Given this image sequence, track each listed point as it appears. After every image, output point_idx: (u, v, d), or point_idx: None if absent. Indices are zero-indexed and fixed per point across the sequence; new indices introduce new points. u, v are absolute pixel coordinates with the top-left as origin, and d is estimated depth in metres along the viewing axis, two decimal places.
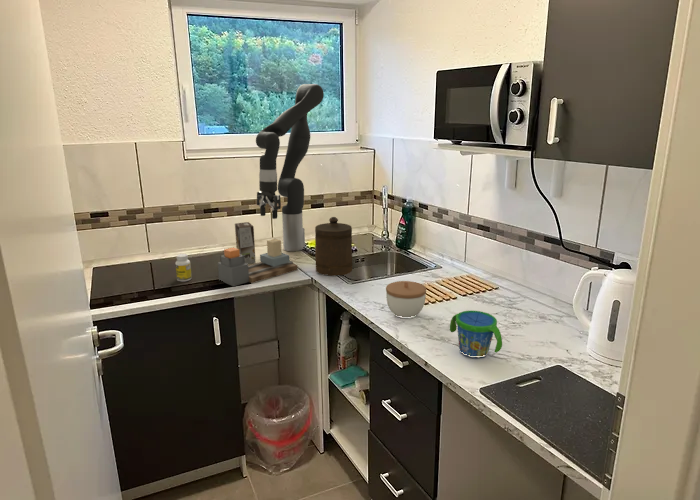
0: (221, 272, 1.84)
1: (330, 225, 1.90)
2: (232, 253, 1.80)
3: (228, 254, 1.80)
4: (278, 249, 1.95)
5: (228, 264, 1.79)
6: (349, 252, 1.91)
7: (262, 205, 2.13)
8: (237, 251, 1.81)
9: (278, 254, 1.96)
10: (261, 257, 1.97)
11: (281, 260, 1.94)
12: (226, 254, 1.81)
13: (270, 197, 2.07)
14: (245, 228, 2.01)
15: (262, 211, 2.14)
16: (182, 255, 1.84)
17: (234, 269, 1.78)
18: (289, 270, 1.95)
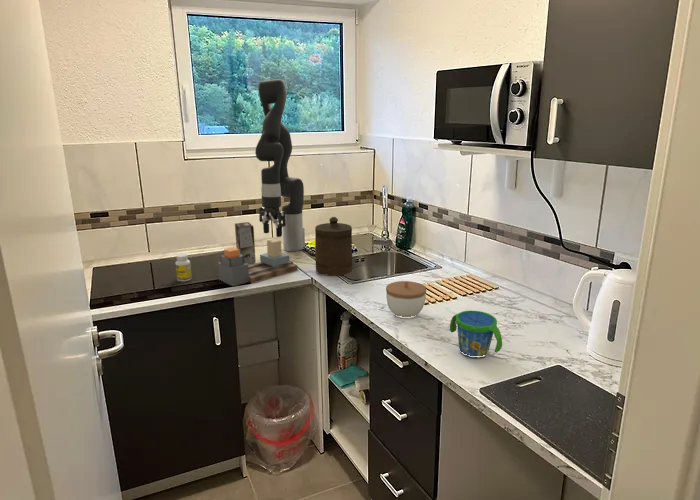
0: (221, 272, 1.84)
1: (330, 225, 1.90)
2: (232, 253, 1.80)
3: (228, 254, 1.80)
4: (278, 249, 1.95)
5: (228, 264, 1.79)
6: (349, 252, 1.91)
7: (265, 222, 1.96)
8: (237, 251, 1.81)
9: (278, 254, 1.96)
10: (261, 257, 1.97)
11: (281, 260, 1.94)
12: (226, 254, 1.81)
13: (274, 213, 1.89)
14: (245, 228, 2.01)
15: (265, 228, 1.96)
16: (182, 255, 1.84)
17: (234, 269, 1.78)
18: (289, 270, 1.95)
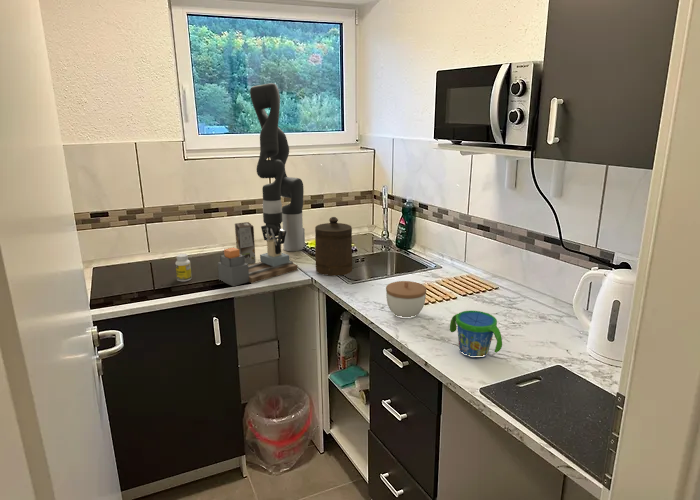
0: (221, 272, 1.84)
1: (330, 225, 1.90)
2: (232, 253, 1.80)
3: (228, 254, 1.80)
4: None
5: (228, 264, 1.79)
6: (349, 252, 1.91)
7: None
8: (237, 251, 1.81)
9: (278, 254, 1.96)
10: (261, 257, 1.97)
11: (281, 260, 1.94)
12: (226, 254, 1.81)
13: (275, 231, 1.91)
14: (245, 228, 2.01)
15: None
16: (182, 255, 1.84)
17: (234, 269, 1.78)
18: (289, 270, 1.95)
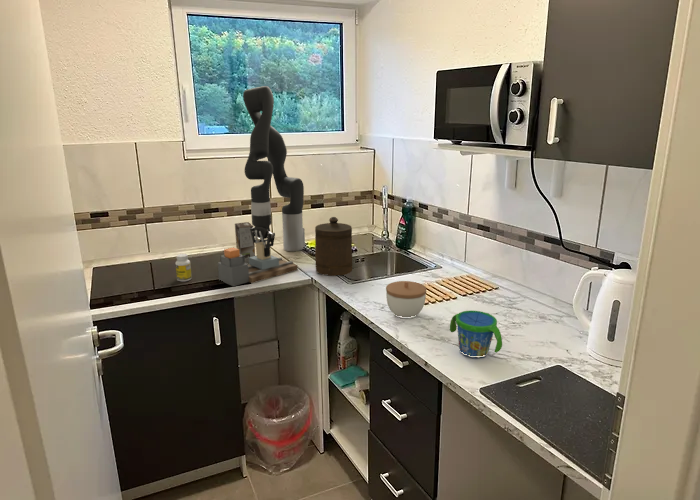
0: (221, 272, 1.84)
1: (330, 225, 1.90)
2: (232, 253, 1.80)
3: (228, 254, 1.80)
4: None
5: (228, 264, 1.79)
6: (349, 252, 1.91)
7: None
8: (237, 251, 1.81)
9: (267, 257, 1.92)
10: (250, 260, 1.93)
11: (270, 262, 1.90)
12: (226, 254, 1.81)
13: (264, 234, 1.87)
14: (245, 228, 2.01)
15: None
16: (182, 255, 1.84)
17: (234, 269, 1.78)
18: (289, 270, 1.95)
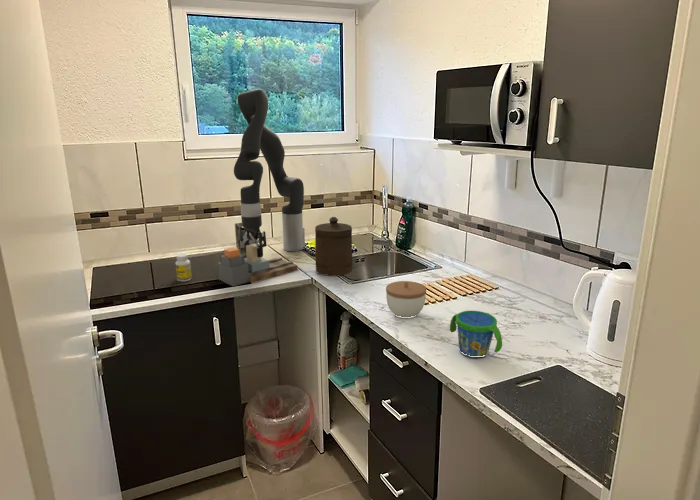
0: (221, 272, 1.84)
1: (330, 225, 1.90)
2: (232, 253, 1.80)
3: (228, 254, 1.80)
4: None
5: (228, 264, 1.79)
6: (349, 252, 1.91)
7: (246, 241, 1.91)
8: (237, 251, 1.81)
9: (257, 259, 1.89)
10: None
11: (260, 265, 1.87)
12: (226, 254, 1.81)
13: (254, 234, 1.84)
14: None
15: None
16: (182, 255, 1.84)
17: (234, 269, 1.78)
18: (289, 270, 1.95)
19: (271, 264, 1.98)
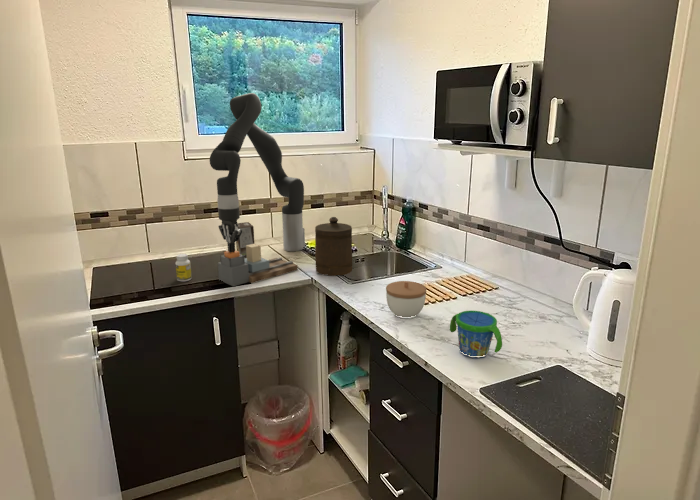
0: (221, 272, 1.84)
1: (330, 225, 1.90)
2: (233, 256, 1.80)
3: (228, 256, 1.80)
4: (257, 254, 1.88)
5: (228, 264, 1.79)
6: (349, 252, 1.91)
7: None
8: (237, 253, 1.82)
9: (257, 259, 1.89)
10: None
11: (260, 265, 1.87)
12: None
13: (231, 229, 1.77)
14: (245, 228, 2.01)
15: None
16: (182, 255, 1.84)
17: (234, 269, 1.78)
18: (289, 270, 1.95)
19: (271, 264, 1.98)
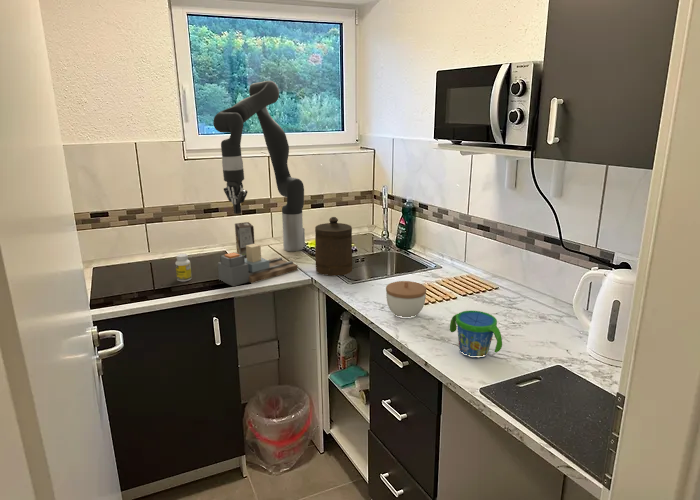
0: (221, 272, 1.84)
1: (330, 225, 1.90)
2: None
3: None
4: (257, 254, 1.88)
5: (228, 264, 1.79)
6: (349, 252, 1.91)
7: None
8: (237, 256, 1.82)
9: (257, 259, 1.89)
10: None
11: (260, 265, 1.87)
12: None
13: (236, 191, 1.81)
14: (245, 228, 2.01)
15: None
16: (182, 255, 1.84)
17: (234, 269, 1.78)
18: (289, 270, 1.95)
19: (271, 264, 1.98)
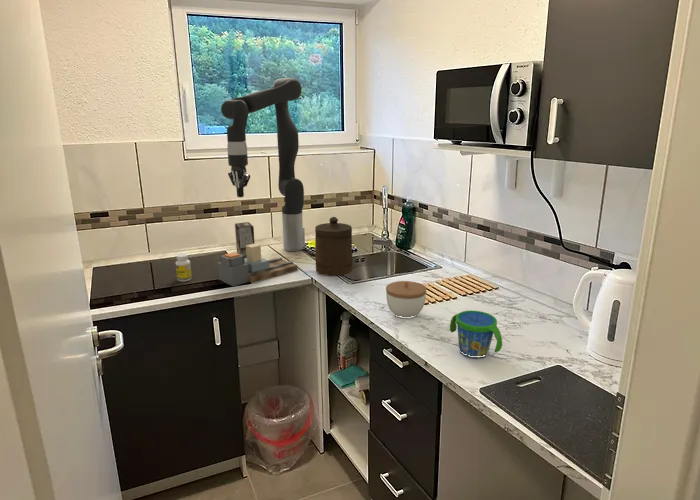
0: (221, 272, 1.84)
1: (330, 225, 1.90)
2: None
3: None
4: (257, 254, 1.88)
5: (228, 264, 1.79)
6: (349, 252, 1.91)
7: None
8: (237, 256, 1.82)
9: (257, 259, 1.89)
10: None
11: (260, 265, 1.87)
12: None
13: (240, 175, 1.90)
14: (245, 228, 2.01)
15: None
16: (182, 255, 1.84)
17: (234, 269, 1.78)
18: (289, 270, 1.95)
19: (271, 264, 1.98)
